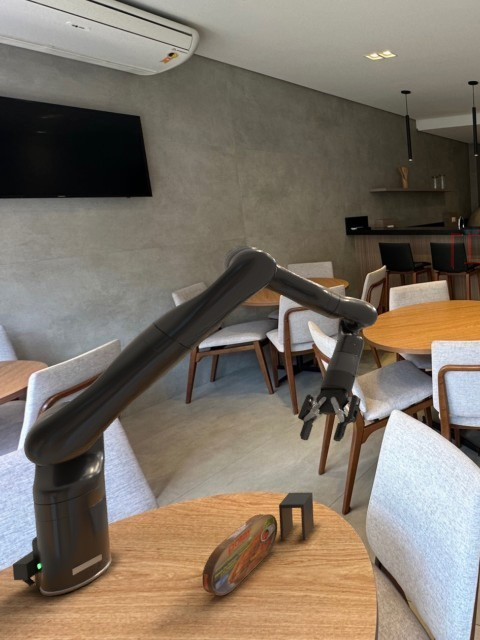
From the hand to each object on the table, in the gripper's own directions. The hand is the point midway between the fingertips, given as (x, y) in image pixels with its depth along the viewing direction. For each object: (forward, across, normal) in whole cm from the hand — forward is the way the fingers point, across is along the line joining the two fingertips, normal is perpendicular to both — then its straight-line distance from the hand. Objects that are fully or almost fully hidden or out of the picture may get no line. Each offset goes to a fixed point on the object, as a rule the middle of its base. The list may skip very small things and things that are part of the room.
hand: (320, 440), depth 97 cm
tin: (+25, -4, -5) cm, 26 cm away
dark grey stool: (+18, -1, +4) cm, 19 cm away
